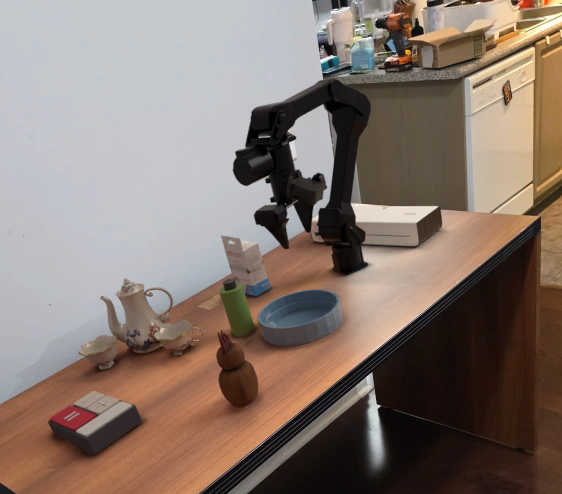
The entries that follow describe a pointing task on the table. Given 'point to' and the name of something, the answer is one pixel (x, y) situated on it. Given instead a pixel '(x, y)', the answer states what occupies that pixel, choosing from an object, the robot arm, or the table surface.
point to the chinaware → (138, 328)
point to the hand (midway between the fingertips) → (298, 240)
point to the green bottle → (236, 307)
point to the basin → (300, 317)
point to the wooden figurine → (235, 373)
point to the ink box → (246, 265)
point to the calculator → (95, 421)
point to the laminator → (392, 224)
